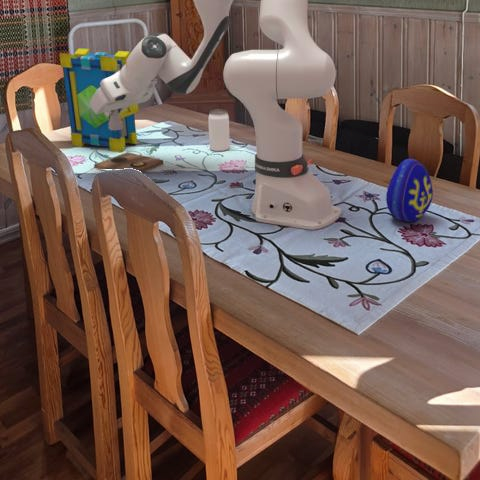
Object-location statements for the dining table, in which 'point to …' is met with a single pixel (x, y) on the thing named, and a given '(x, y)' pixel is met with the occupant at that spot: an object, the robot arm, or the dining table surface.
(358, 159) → the dining table surface
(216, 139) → the can
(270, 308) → the dining table surface
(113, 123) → the white chess piece
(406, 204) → the ornament
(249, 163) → the dining table surface
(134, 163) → the brass bolt head
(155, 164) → the gauge board
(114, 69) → the decorative book
